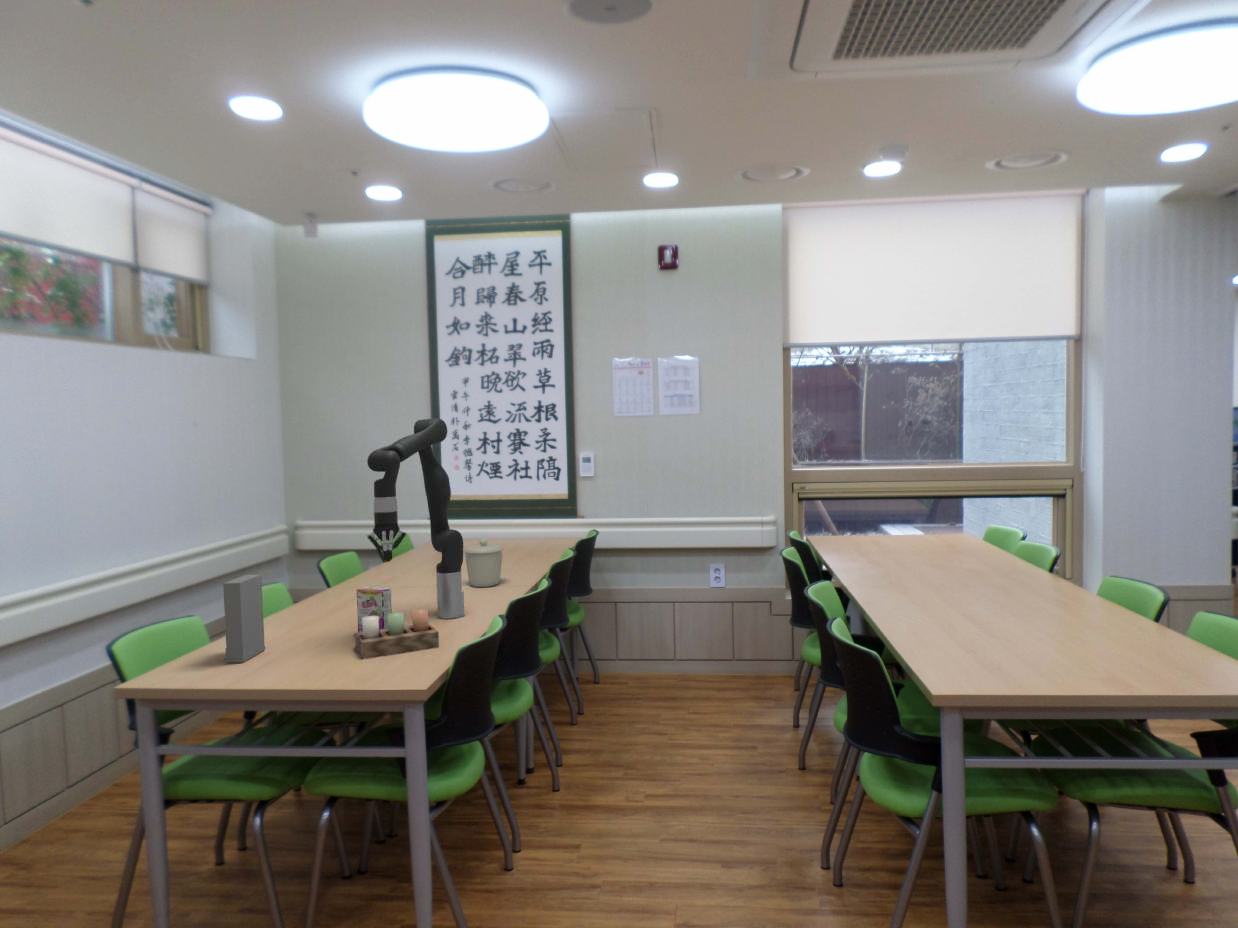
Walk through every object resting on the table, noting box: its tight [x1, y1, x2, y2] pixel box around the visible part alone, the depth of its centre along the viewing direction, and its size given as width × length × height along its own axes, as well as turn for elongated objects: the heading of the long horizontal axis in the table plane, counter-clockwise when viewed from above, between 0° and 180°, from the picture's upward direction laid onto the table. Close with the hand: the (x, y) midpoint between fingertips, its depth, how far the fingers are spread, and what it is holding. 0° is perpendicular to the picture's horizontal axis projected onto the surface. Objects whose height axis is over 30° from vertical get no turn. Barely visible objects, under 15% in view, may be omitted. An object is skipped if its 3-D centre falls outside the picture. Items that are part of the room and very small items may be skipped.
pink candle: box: [412, 608, 429, 632], centre depth 257 cm, size 5×5×7 cm
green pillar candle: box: [388, 611, 405, 636], centre depth 253 cm, size 5×5×7 cm
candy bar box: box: [356, 586, 393, 632], centre depth 269 cm, size 11×5×16 cm, turn 71°
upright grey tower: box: [222, 574, 266, 664], centre depth 246 cm, size 14×6×25 cm, turn 178°
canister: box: [463, 538, 505, 588], centre depth 351 cm, size 18×18×21 cm
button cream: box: [362, 616, 379, 640], centre depth 249 cm, size 5×5×7 cm
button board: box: [353, 623, 440, 659], centre depth 253 cm, size 24×14×5 cm, turn 118°
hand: (387, 561), depth 261 cm, fingers closed
